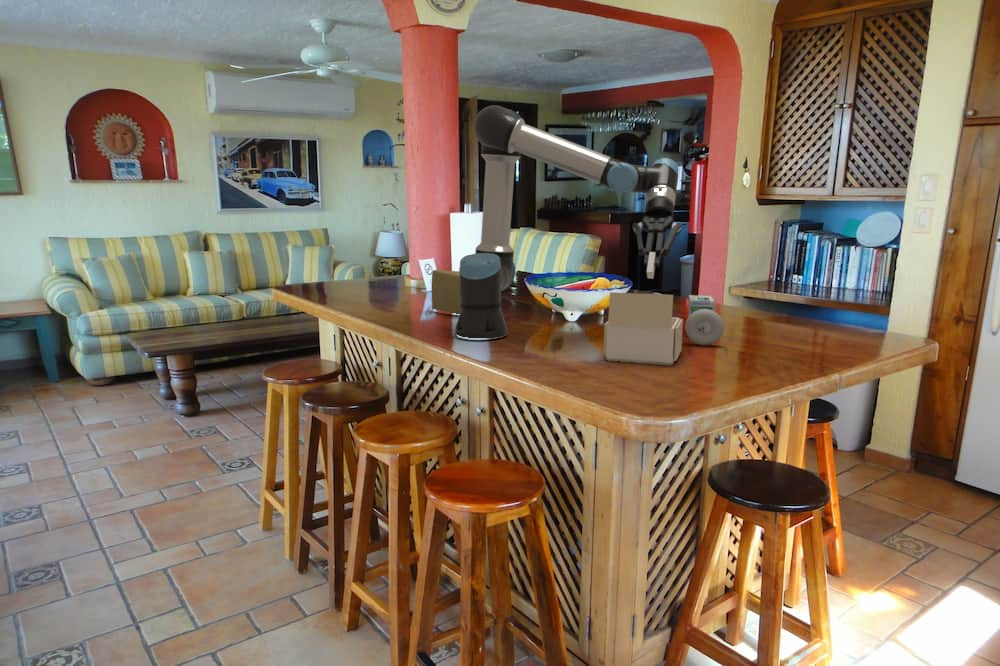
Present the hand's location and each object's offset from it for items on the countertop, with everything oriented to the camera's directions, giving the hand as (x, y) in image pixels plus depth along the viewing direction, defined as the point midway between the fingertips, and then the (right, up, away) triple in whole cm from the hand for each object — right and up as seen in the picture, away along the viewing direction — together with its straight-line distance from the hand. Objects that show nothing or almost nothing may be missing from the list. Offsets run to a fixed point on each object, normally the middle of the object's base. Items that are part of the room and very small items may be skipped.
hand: (650, 275), depth 175 cm
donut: (+17, -18, +10) cm, 27 cm away
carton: (-2, -21, -1) cm, 21 cm away
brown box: (-52, -9, +60) cm, 80 cm away
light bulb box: (+20, -15, +24) cm, 34 cm away
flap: (-5, -13, -10) cm, 17 cm away
